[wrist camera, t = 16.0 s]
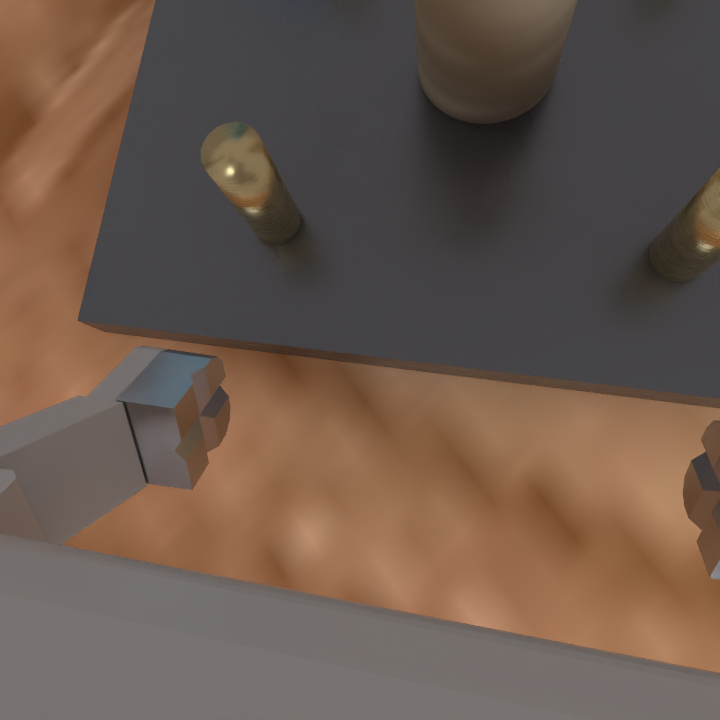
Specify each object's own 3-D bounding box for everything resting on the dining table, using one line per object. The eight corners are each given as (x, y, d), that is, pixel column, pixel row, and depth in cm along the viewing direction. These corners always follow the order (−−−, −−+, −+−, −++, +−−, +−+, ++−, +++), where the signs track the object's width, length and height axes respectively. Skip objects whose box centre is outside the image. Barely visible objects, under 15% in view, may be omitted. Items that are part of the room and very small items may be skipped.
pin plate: (104, 331, 20) (-21, 279, 14) (214, -138, 23) (147, -321, 18) (878, 428, 16) (1102, 405, 10) (872, -154, 19) (1038, -394, 14)
